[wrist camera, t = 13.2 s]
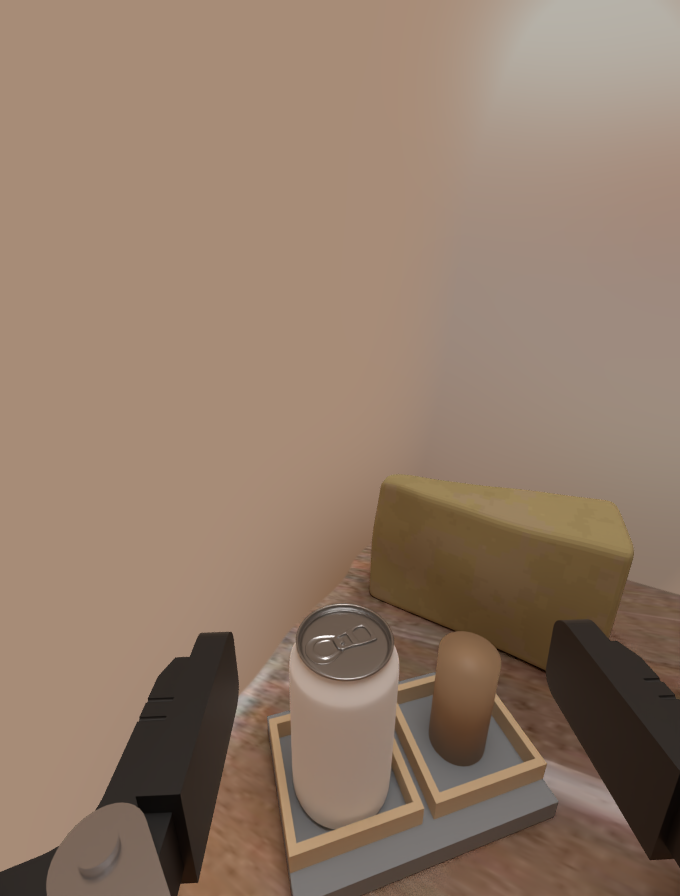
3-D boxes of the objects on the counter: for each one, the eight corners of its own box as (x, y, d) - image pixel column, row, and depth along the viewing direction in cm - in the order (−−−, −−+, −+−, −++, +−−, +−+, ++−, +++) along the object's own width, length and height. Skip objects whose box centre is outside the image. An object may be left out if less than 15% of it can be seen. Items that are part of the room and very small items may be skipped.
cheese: (354, 620, 44) (358, 491, 38) (383, 568, 52) (390, 457, 47) (595, 700, 35) (642, 549, 30) (584, 623, 44) (618, 495, 38)
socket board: (461, 677, 37) (474, 590, 34) (554, 816, 27) (585, 712, 24) (268, 730, 32) (262, 634, 29) (295, 922, 22) (290, 809, 19)
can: (279, 753, 29) (272, 617, 25) (359, 715, 32) (365, 587, 28) (316, 858, 24) (315, 707, 20) (409, 801, 27) (425, 658, 22)
